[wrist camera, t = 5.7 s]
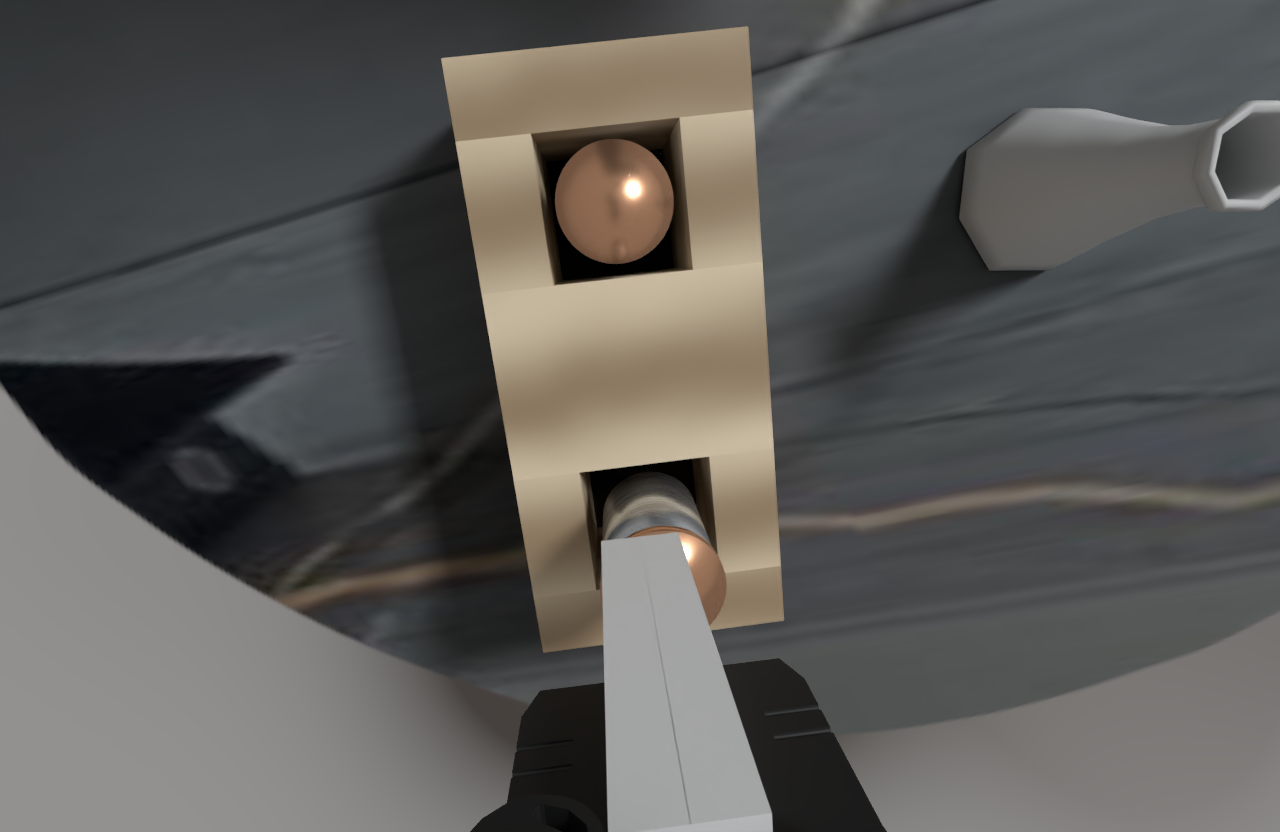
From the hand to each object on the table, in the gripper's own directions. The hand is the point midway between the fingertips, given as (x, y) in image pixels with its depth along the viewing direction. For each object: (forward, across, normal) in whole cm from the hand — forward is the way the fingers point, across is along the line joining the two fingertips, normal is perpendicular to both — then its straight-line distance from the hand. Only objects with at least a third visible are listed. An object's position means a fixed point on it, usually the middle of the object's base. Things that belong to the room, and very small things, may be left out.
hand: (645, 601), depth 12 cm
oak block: (+18, +1, +3) cm, 18 cm away
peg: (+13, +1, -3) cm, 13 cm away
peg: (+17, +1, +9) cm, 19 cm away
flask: (+17, +20, +8) cm, 28 cm away
